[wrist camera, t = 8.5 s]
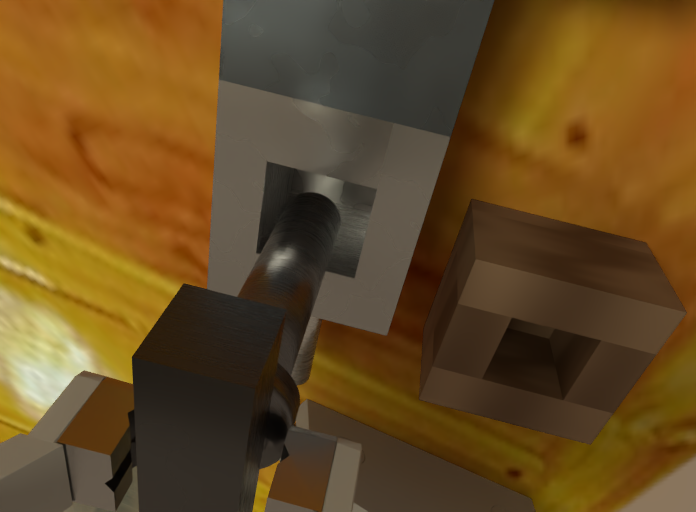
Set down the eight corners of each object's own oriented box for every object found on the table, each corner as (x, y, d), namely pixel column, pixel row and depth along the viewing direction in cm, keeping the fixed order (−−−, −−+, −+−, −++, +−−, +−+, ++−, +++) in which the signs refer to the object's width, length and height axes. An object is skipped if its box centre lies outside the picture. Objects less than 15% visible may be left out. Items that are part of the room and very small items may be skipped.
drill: (322, -315, 16) (248, -443, 10) (752, -217, 16) (931, -292, 10) (248, 312, 30) (200, 408, 24) (475, 370, 30) (481, 483, 24)
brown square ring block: (646, 242, 24) (687, 312, 20) (570, 366, 28) (590, 444, 24) (471, 198, 24) (475, 258, 20) (423, 328, 29) (418, 399, 24)
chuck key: (374, 133, 16) (289, 397, 8) (334, 305, 20) (246, 615, 11) (286, 111, 17) (98, 347, 8) (262, 287, 20) (120, 581, 11)
